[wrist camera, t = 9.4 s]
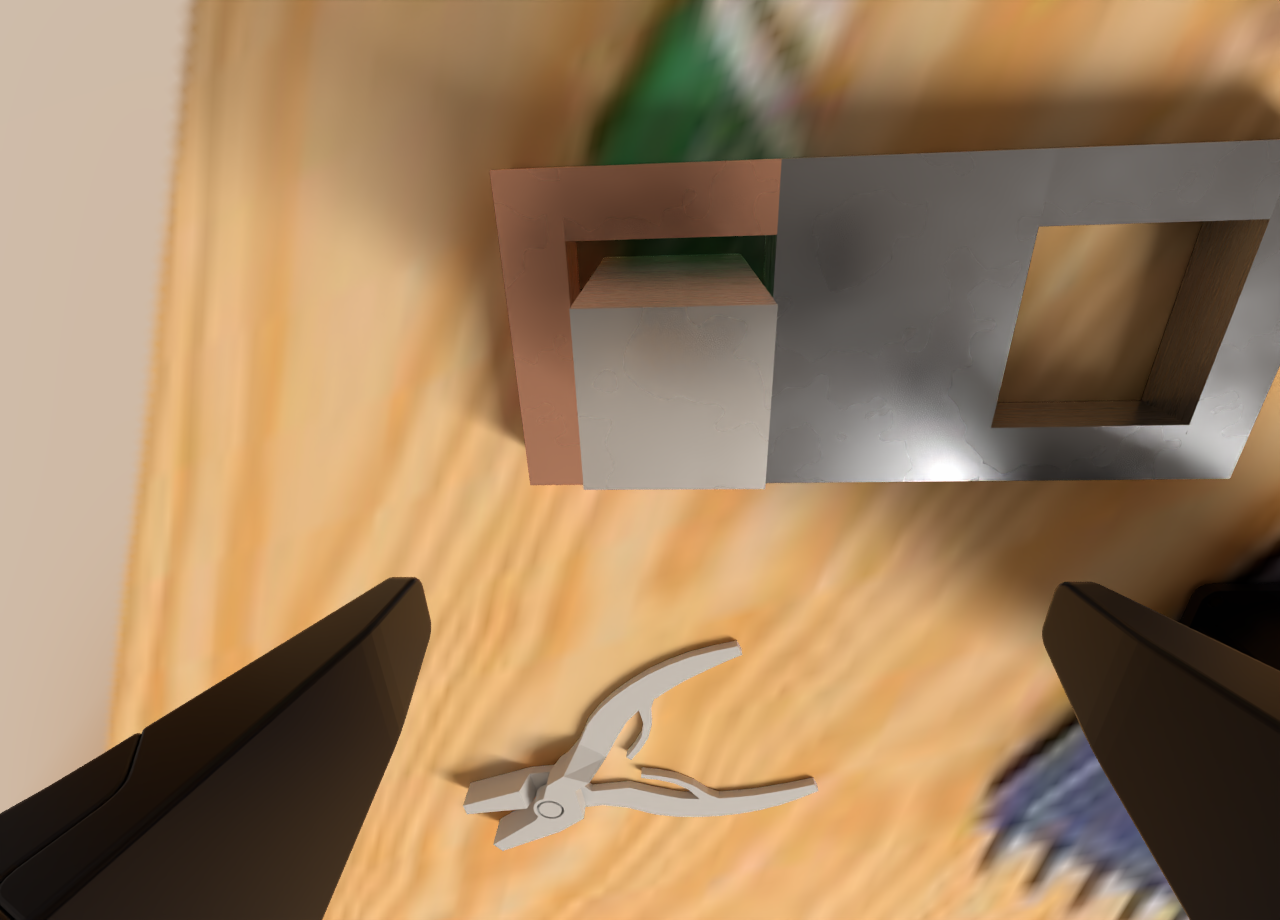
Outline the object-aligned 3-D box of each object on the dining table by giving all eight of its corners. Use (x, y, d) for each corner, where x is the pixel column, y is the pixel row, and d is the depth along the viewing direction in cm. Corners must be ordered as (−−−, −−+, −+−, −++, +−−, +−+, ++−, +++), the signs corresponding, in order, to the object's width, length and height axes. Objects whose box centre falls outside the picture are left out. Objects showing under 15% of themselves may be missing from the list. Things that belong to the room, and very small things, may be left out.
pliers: (824, 812, 27) (534, 888, 30) (816, 779, 28) (540, 855, 32) (737, 658, 23) (418, 764, 27) (733, 629, 25) (431, 734, 28)
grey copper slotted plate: (1302, 138, 16) (1381, 135, 14) (1179, 449, 20) (1229, 478, 18) (508, 169, 17) (489, 169, 15) (542, 457, 21) (530, 485, 19)
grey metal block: (740, 253, 18) (777, 304, 12) (735, 383, 20) (765, 489, 13) (604, 256, 18) (569, 308, 12) (611, 385, 20) (583, 489, 14)
